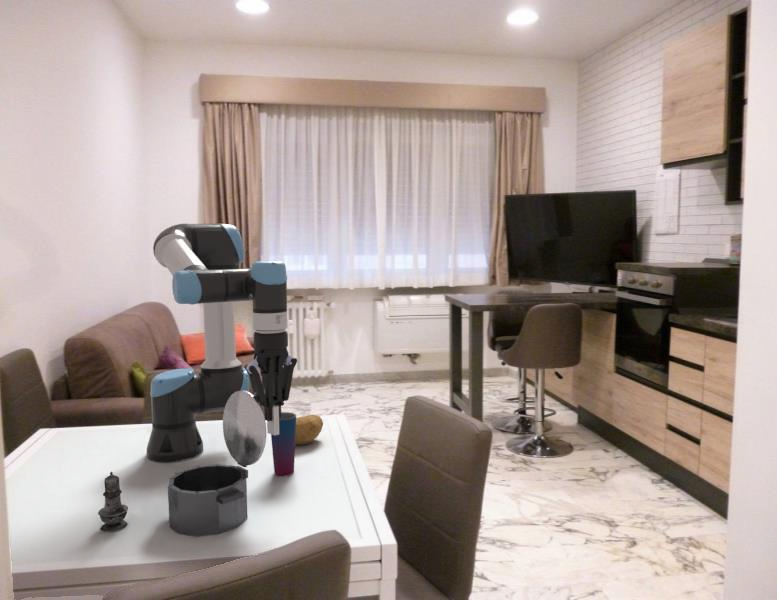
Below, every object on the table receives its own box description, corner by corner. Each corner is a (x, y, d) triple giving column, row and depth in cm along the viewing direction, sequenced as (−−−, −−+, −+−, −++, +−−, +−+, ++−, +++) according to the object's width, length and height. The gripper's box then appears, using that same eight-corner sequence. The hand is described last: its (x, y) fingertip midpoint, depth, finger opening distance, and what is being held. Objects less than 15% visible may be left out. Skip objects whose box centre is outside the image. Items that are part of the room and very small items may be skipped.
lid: (224, 385, 144) (234, 384, 146) (221, 456, 144) (231, 454, 146) (264, 398, 132) (275, 396, 134) (261, 475, 133) (271, 473, 135)
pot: (152, 515, 135) (150, 475, 134) (220, 492, 147) (219, 456, 146) (198, 547, 121) (196, 503, 120) (269, 519, 133) (268, 479, 132)
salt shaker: (104, 520, 133) (102, 466, 132) (133, 519, 133) (130, 465, 132) (94, 533, 127) (91, 477, 126) (123, 532, 128) (121, 476, 126)
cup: (292, 478, 156) (290, 420, 155) (266, 476, 157) (265, 419, 156) (301, 468, 163) (300, 412, 161) (276, 466, 164) (275, 411, 163)
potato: (332, 439, 186) (331, 413, 185) (298, 452, 175) (298, 425, 174) (309, 433, 192) (308, 408, 191) (275, 445, 181) (274, 419, 180)
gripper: (255, 335, 130) (258, 444, 132) (304, 329, 139) (306, 430, 142) (236, 332, 135) (239, 436, 138) (284, 325, 144) (286, 423, 147)
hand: (273, 433), depth 140 cm, fingers closed
